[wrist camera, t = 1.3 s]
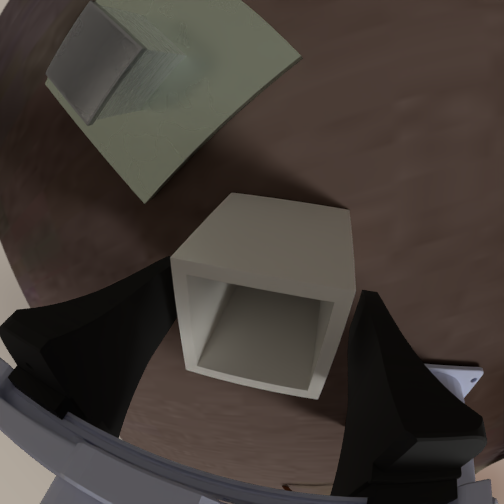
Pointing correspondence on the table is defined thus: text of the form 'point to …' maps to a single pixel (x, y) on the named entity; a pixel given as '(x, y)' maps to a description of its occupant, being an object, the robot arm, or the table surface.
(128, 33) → the duct stub
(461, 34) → the table surface
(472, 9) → the table surface
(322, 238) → the sleeve
